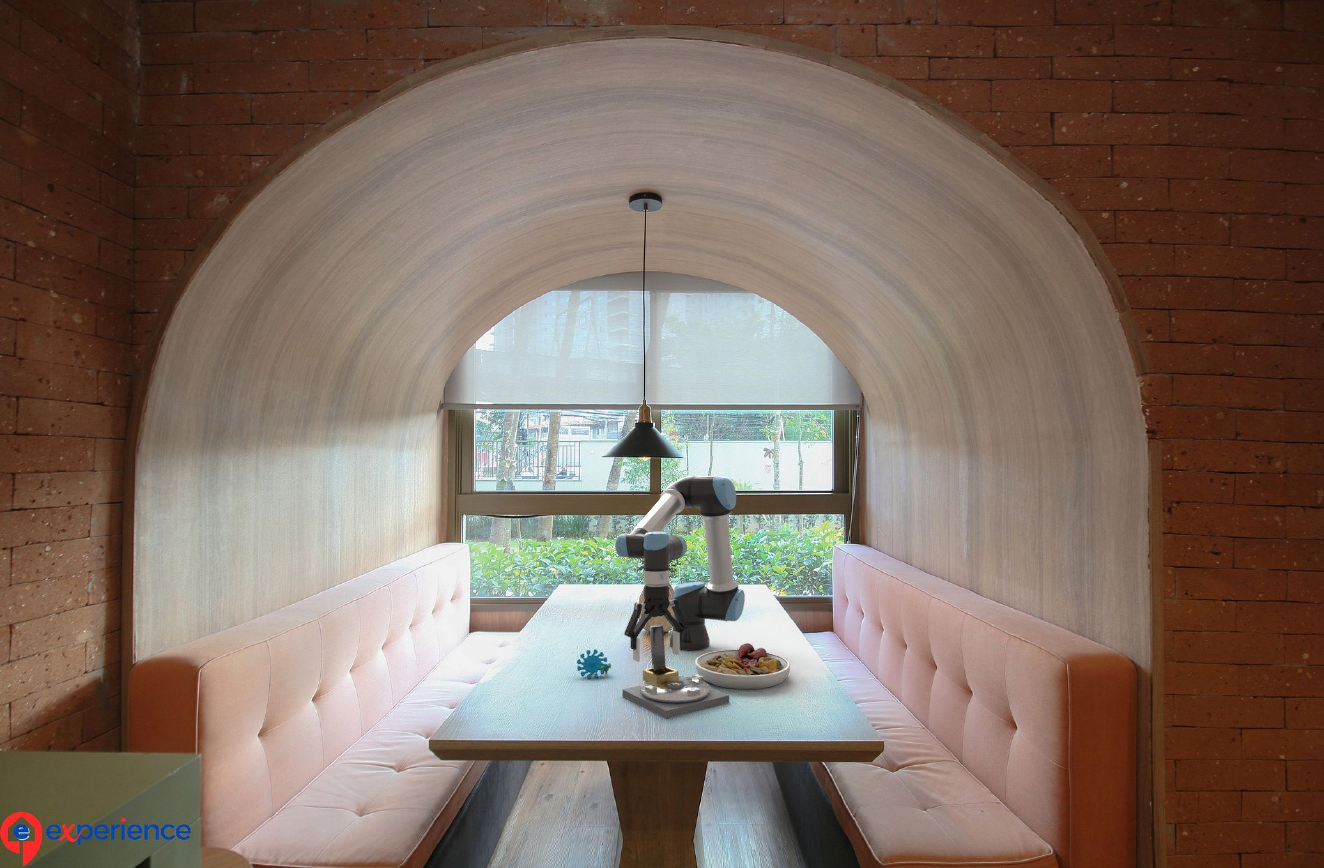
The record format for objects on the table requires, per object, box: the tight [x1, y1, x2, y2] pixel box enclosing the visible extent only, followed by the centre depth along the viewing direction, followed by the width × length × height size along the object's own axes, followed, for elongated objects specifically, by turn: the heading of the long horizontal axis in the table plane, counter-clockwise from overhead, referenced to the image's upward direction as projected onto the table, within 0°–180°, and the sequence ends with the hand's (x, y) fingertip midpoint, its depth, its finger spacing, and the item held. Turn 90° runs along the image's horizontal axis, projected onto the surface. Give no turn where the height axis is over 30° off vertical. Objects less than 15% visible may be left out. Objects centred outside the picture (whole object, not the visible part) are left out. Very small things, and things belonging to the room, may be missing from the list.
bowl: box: [694, 642, 791, 690], centre depth 217 cm, size 30×30×8 cm
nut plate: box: [621, 675, 730, 720], centre depth 196 cm, size 22×22×2 cm
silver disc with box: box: [640, 665, 710, 703], centre depth 196 cm, size 21×20×4 cm
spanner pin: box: [649, 624, 667, 675], centre depth 201 cm, size 4×4×16 cm
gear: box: [576, 649, 612, 680], centre depth 219 cm, size 11×6×10 cm
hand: (656, 657), depth 201 cm, fingers open, 13 cm apart
